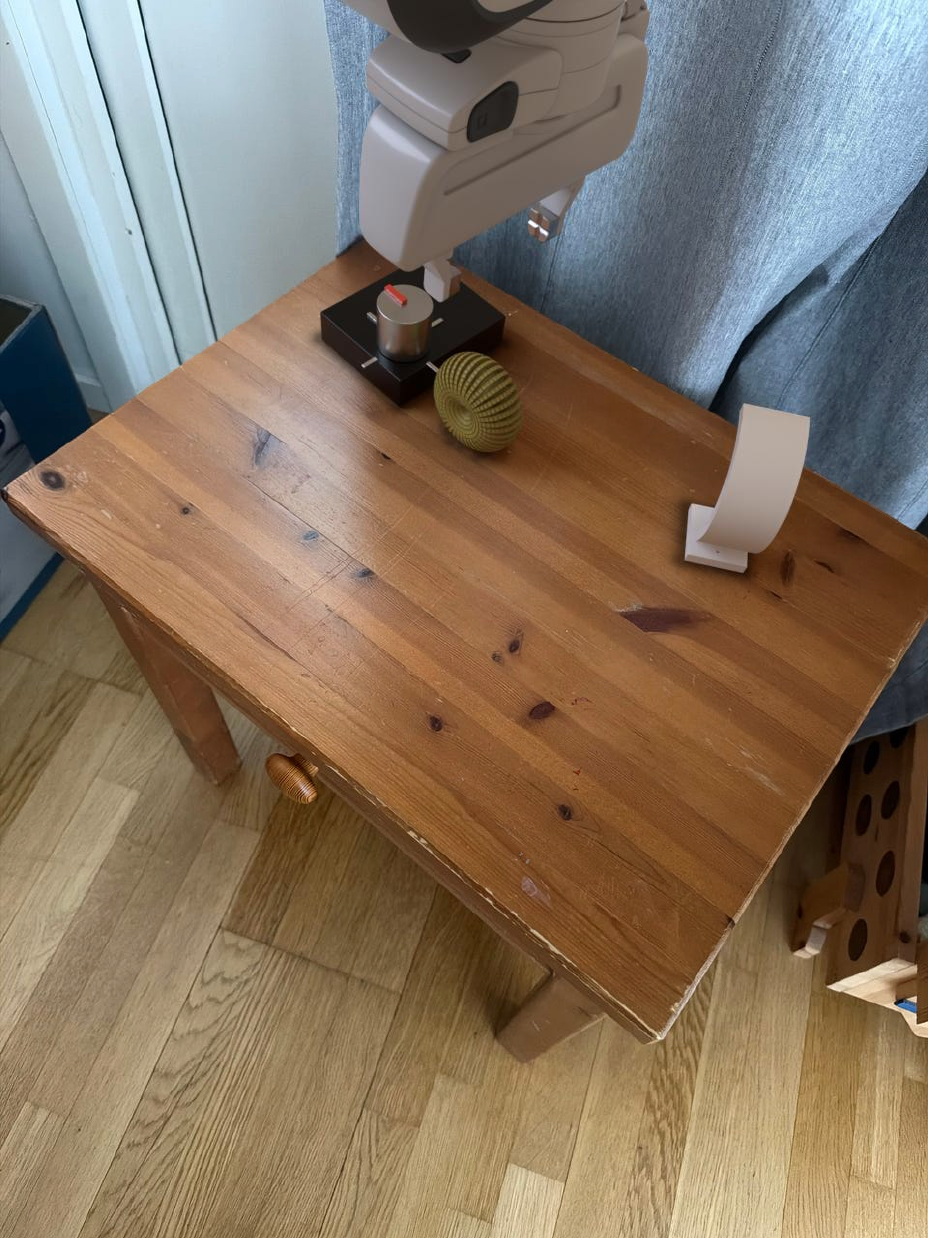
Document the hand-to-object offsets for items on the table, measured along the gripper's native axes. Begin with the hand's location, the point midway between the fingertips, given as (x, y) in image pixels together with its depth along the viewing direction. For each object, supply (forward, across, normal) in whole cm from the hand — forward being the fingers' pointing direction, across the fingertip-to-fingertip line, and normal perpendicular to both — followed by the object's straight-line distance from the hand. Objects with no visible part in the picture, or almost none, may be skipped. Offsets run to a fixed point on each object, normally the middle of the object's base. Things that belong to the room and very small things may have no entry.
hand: (493, 262), depth 58 cm
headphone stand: (+17, -7, +20) cm, 27 cm away
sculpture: (+17, 0, 0) cm, 17 cm away
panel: (+17, -4, -11) cm, 20 cm away
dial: (+14, -1, -9) cm, 16 cm away
